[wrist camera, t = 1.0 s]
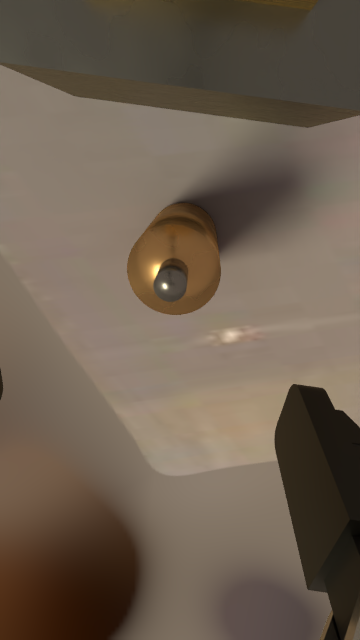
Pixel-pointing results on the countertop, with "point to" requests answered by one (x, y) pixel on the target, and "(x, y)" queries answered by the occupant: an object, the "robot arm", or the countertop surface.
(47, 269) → the countertop surface
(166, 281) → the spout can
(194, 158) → the countertop surface
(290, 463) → the robot arm
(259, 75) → the grey boxy block
